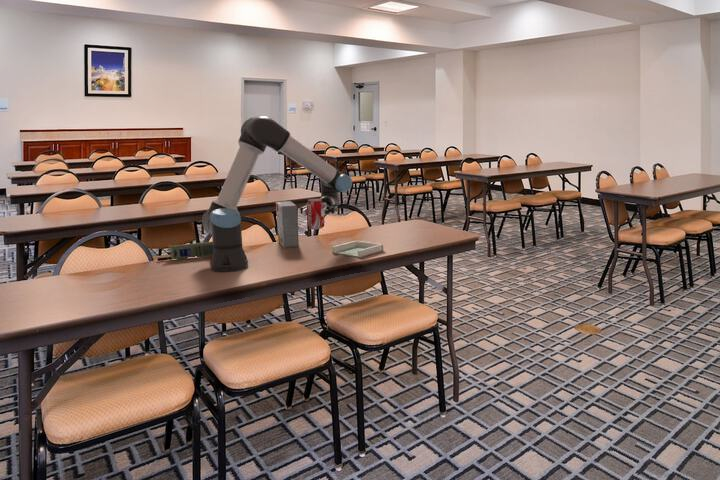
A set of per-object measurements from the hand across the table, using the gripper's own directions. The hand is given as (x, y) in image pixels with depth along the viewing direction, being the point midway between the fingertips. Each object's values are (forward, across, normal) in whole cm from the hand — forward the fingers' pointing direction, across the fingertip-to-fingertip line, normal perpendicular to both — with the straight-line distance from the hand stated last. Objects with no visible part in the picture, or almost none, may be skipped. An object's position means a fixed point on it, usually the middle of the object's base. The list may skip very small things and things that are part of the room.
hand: (312, 213), depth 229 cm
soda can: (-5, 0, -7) cm, 9 cm away
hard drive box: (-37, +22, -21) cm, 48 cm away
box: (-20, -14, -21) cm, 33 cm away
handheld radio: (-6, +59, -21) cm, 63 cm away
